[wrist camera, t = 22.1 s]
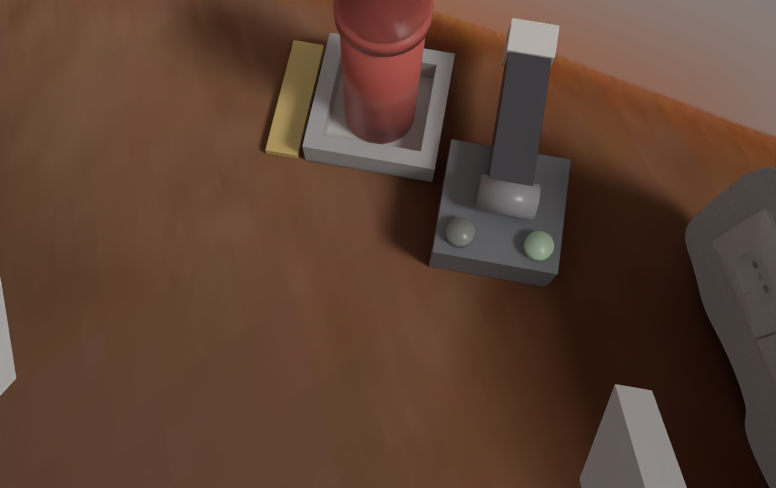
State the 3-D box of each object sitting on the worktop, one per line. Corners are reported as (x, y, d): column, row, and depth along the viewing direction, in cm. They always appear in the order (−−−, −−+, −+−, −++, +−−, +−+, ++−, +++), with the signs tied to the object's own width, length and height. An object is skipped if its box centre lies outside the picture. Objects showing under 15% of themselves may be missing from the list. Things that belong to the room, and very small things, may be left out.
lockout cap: (326, 116, 43) (312, 8, 33) (375, 65, 45) (377, -55, 34) (384, 161, 43) (390, 66, 32) (433, 108, 44) (453, 0, 33)
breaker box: (428, 266, 41) (433, 248, 38) (446, 160, 43) (452, 134, 40) (545, 287, 41) (560, 271, 37) (557, 179, 43) (573, 155, 39)
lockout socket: (266, 153, 43) (261, 139, 41) (294, 44, 45) (290, 26, 44) (432, 182, 43) (434, 169, 41) (451, 70, 45) (455, 53, 43)
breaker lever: (477, 204, 37) (508, 16, 39) (473, 213, 39) (502, 34, 41) (537, 215, 37) (564, 25, 39) (529, 223, 39) (555, 43, 41)
